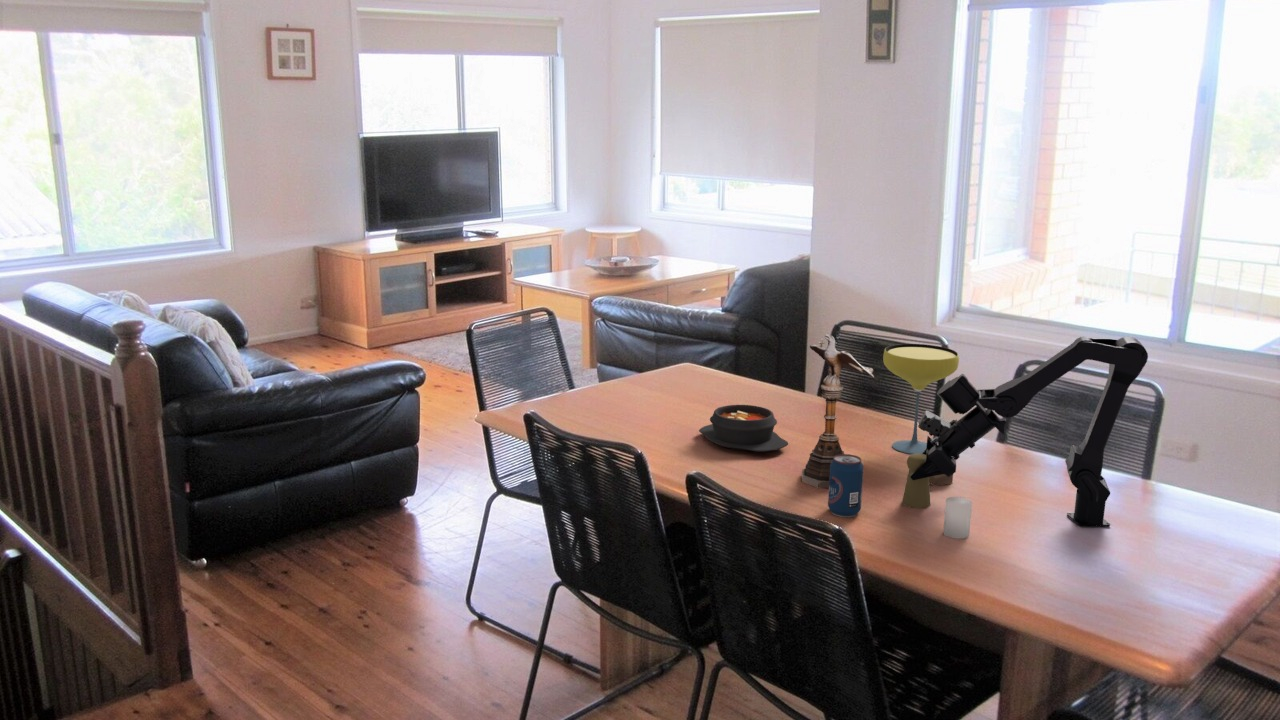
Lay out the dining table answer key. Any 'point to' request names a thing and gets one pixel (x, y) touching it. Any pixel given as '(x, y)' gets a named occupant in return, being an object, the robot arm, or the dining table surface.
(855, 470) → the soda can
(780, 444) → the casserole
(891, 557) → the dining table surface
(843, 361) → the bird statue
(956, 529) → the off-white cylinder
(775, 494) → the dining table surface
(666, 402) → the dining table surface
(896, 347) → the cocktail glass
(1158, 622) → the dining table surface
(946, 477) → the walnut block
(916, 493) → the cork
